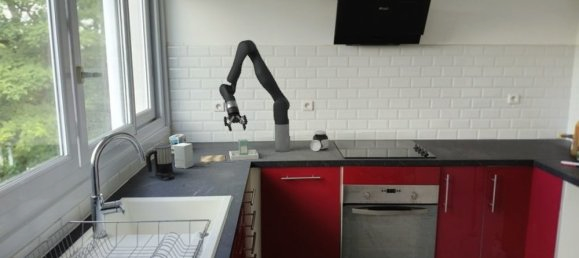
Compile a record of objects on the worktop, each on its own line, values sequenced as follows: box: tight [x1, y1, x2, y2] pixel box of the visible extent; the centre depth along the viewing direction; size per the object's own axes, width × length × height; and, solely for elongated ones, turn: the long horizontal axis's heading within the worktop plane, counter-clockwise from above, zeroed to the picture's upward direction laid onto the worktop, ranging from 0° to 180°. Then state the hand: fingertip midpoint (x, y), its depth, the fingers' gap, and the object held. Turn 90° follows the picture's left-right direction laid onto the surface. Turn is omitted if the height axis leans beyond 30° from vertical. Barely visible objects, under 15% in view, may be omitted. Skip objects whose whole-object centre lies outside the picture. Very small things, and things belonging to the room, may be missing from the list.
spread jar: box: [309, 130, 330, 152], centre depth 267 cm, size 12×11×12 cm
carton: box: [238, 138, 249, 156], centre depth 250 cm, size 5×5×10 cm
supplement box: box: [174, 142, 195, 170], centre depth 232 cm, size 7×7×13 cm
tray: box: [228, 149, 260, 162], centre depth 250 cm, size 16×14×3 cm
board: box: [200, 154, 227, 165], centre depth 247 cm, size 14×14×1 cm
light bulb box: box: [168, 133, 187, 154], centre depth 269 cm, size 11×7×11 cm, turn 168°
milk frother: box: [144, 144, 175, 179], centre depth 215 cm, size 14×16×15 cm
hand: (237, 130), depth 258 cm, fingers open, 8 cm apart
